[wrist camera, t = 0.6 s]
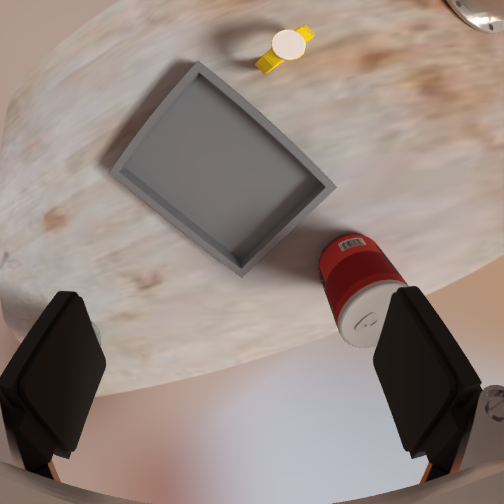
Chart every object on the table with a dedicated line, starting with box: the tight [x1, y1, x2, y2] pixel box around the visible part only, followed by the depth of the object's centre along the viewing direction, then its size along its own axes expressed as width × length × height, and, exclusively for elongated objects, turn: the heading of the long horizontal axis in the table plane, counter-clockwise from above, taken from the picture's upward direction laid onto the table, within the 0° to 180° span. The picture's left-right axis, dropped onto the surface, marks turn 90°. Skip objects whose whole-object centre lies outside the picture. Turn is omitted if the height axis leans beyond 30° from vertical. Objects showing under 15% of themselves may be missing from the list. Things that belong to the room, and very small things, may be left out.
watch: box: [255, 25, 315, 75], centre depth 24 cm, size 6×3×6 cm, turn 133°
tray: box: [109, 61, 337, 278], centre depth 31 cm, size 14×18×2 cm
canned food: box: [318, 234, 409, 348], centre depth 32 cm, size 8×8×11 cm
